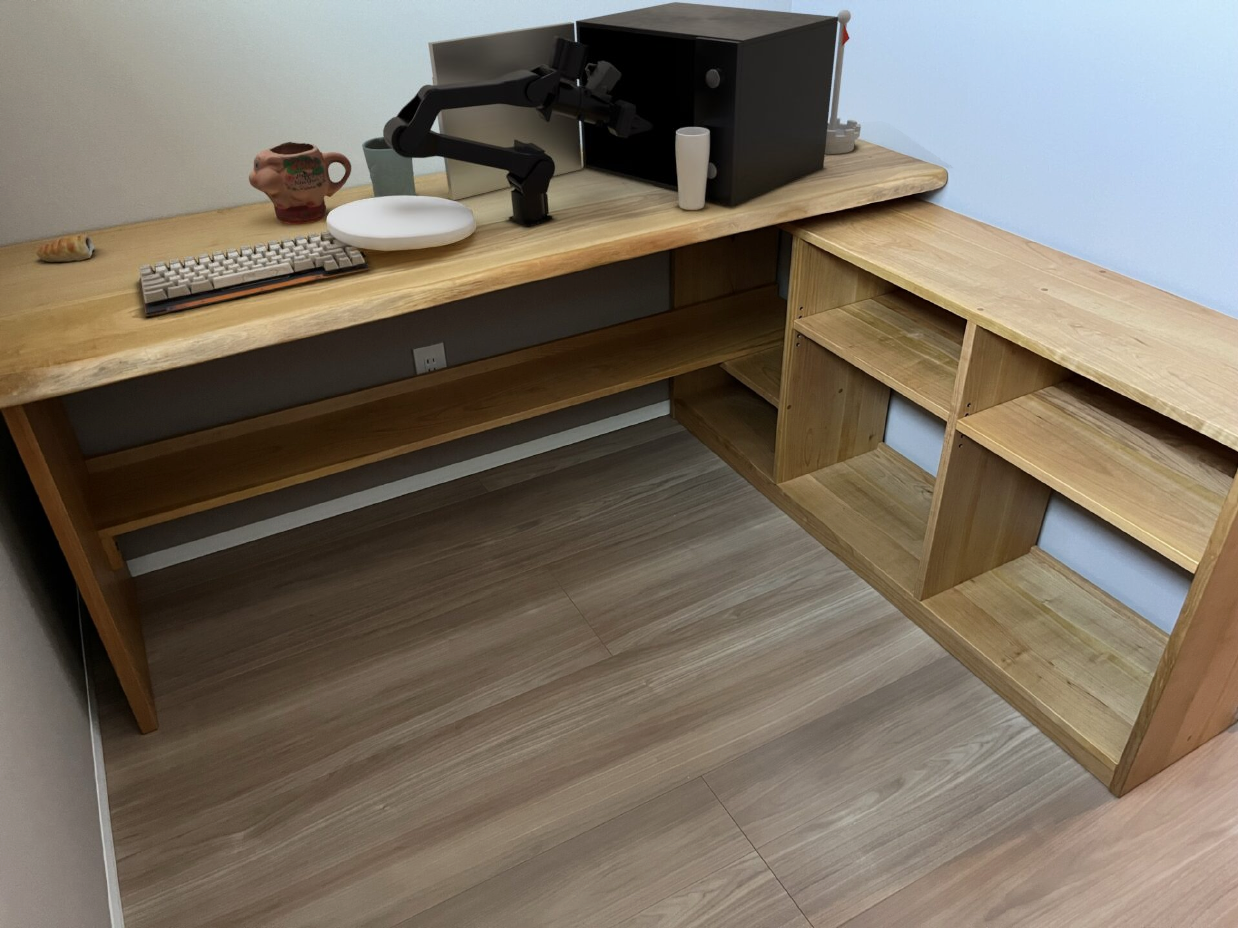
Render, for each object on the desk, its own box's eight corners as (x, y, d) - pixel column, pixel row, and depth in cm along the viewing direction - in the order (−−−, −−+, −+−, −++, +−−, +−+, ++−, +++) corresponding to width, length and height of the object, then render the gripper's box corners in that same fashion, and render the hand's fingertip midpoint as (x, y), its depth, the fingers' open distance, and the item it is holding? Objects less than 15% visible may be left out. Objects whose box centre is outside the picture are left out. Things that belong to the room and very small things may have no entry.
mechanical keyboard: (146, 318, 145) (139, 298, 143) (138, 280, 159) (132, 261, 157) (375, 271, 159) (371, 253, 157) (349, 240, 173) (346, 223, 171)
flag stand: (796, 142, 220) (807, 7, 204) (848, 139, 221) (863, 4, 205) (811, 156, 210) (824, 15, 193) (865, 153, 211) (883, 12, 194)
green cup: (404, 189, 198) (395, 133, 191) (429, 199, 192) (420, 141, 185) (363, 200, 193) (352, 143, 186) (387, 210, 186) (377, 151, 180)
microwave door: (437, 193, 195) (415, 39, 177) (564, 163, 211) (556, 19, 194) (453, 200, 190) (431, 43, 173) (581, 169, 206) (574, 23, 189)
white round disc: (419, 183, 184) (506, 212, 170) (419, 215, 187) (504, 246, 173) (296, 196, 165) (381, 230, 150) (298, 231, 168) (382, 267, 154)
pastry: (36, 266, 165) (28, 246, 163) (44, 254, 171) (36, 235, 169) (92, 259, 168) (84, 239, 166) (97, 247, 173) (90, 228, 171)
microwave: (728, 209, 181) (735, 42, 163) (575, 170, 206) (567, 22, 189) (823, 168, 202) (838, 17, 184) (674, 138, 227) (675, 2, 210)
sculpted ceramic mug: (351, 199, 193) (338, 133, 185) (365, 215, 184) (352, 146, 176) (256, 216, 186) (238, 147, 178) (265, 233, 177) (247, 162, 169)
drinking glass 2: (690, 199, 186) (691, 125, 178) (715, 206, 182) (717, 130, 174) (668, 207, 183) (668, 132, 174) (693, 214, 179) (694, 137, 170)
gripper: (607, 66, 160) (677, 89, 169) (565, 50, 174) (632, 72, 183) (589, 128, 165) (659, 148, 173) (550, 109, 179) (616, 127, 187)
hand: (641, 122), depth 179 cm, fingers open, 9 cm apart
